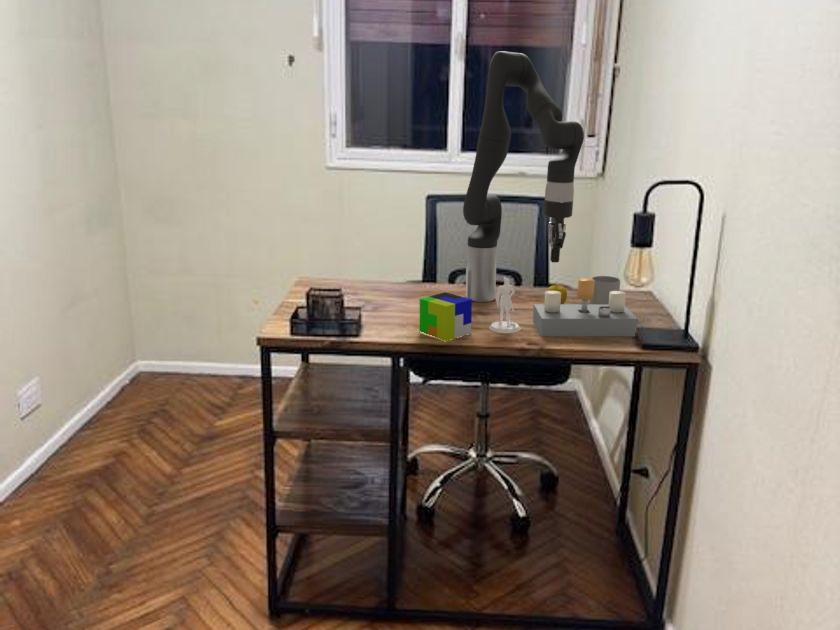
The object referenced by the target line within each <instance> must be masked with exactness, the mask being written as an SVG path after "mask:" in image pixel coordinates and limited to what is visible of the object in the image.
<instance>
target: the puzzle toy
mask: <svg viewBox="0 0 840 630" xmlns="http://www.w3.org/2000/svg"><path fill="white" fill-rule="evenodd" d="M472 309H473V301H472V299H469V298H466V296H465V297H464V296H461V295H459V294H458V295H457V294H454V293H449V292H440V293H438V294H434V295H430V296H426V297H422V298H419V332H420V331H421V332H424V333H426V334H429V335H432V336H435V337H437V338H440V339H442V340H445V341H447V340H450V339H454V338H457V337H460V336H464V335H467V334H470V335H472V319H473V318H472V317H473V316H472V312H473V311H472ZM467 336H468V335H467ZM464 337H465V336H464ZM454 340H455V339H454Z"/></svg>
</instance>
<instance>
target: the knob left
mask: <svg viewBox="0 0 840 630" xmlns="http://www.w3.org/2000/svg"><path fill="white" fill-rule="evenodd" d="M543 304H544V310H545V311H547V312H549V313H555V312H559V311H560V304H561V292H558V291H547V290H546V291H545V292H544V303H543Z"/></svg>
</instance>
